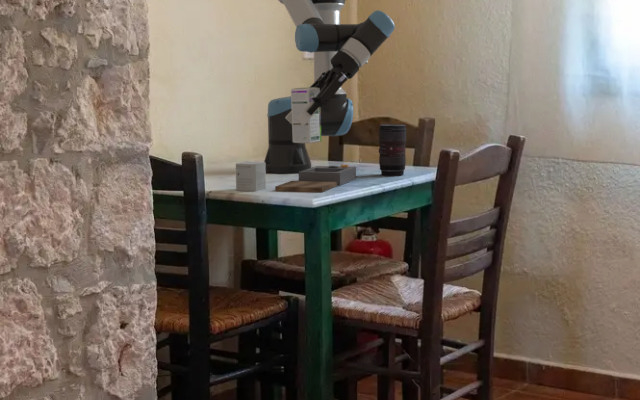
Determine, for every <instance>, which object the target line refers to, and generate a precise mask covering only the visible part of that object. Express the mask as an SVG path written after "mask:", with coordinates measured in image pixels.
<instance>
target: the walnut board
mask: <svg viewBox="0 0 640 400" xmlns="http://www.w3.org/2000/svg"><path fill="white" fill-rule="evenodd" d="M336 187H338V185H337V182H324V181H299V180H291V181H287V182H284V183H282V184H278V185H276V186H274V188H275V189H274V190H275V192H294V193H295V192H298V193H299V192H300V193H301V192H302V193H304V192H305V193H324V192H326V191H329V190H331V189H333V188H336Z"/></svg>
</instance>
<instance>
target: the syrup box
mask: <svg viewBox="0 0 640 400" xmlns="http://www.w3.org/2000/svg"><path fill="white" fill-rule="evenodd" d="M319 92H320V88H315V87H310V86H309V87H295V88H291V89H290V96H291V109H292V136H293V143H305V144H314V143H320V142H323V141H322V136H321V108H320V107H319V109H318V110H317V111H316V113H315V114H314V115H313V116H312V117H311V118H310V119H309V120H308V122H307V123H306V124H305V125H304V126H302V125H301V124H300V123H299V122H298V121H297V120H296V118H297V117H298V115H299V114H300V113H301V112H302V111H303V110H304V109H305V108H306V106H307V105H308V104H309V103H310V102H311V101H313V100H312V98H313V97H316V96H317V95H318V94H319ZM313 102H314V101H313Z"/></svg>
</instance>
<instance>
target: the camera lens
mask: <svg viewBox="0 0 640 400" xmlns="http://www.w3.org/2000/svg"><path fill="white" fill-rule="evenodd" d="M406 141H407V127H406V125H405V124H380V125H379V129H378V142H379V148H378V153H379V155H378V157H379V158H378V159H379V160H378V163H379V170H380V173H381V175H382V176H384V177H397V176H403V175H405V172H404V171H405V170H406V161H407V160H406V159H407V157H406V145H407V144H406V143H407V142H406Z"/></svg>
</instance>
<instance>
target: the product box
mask: <svg viewBox="0 0 640 400" xmlns="http://www.w3.org/2000/svg"><path fill="white" fill-rule="evenodd" d="M266 179H267V172H266V163H265V162H264V161H242V162H238V163H235V187H236V188H235V190H236V191H240V192H243V191H244V192H259V191H263V190H266V188H267V185H266V184H267V183H266V182H267V181H266Z"/></svg>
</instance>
